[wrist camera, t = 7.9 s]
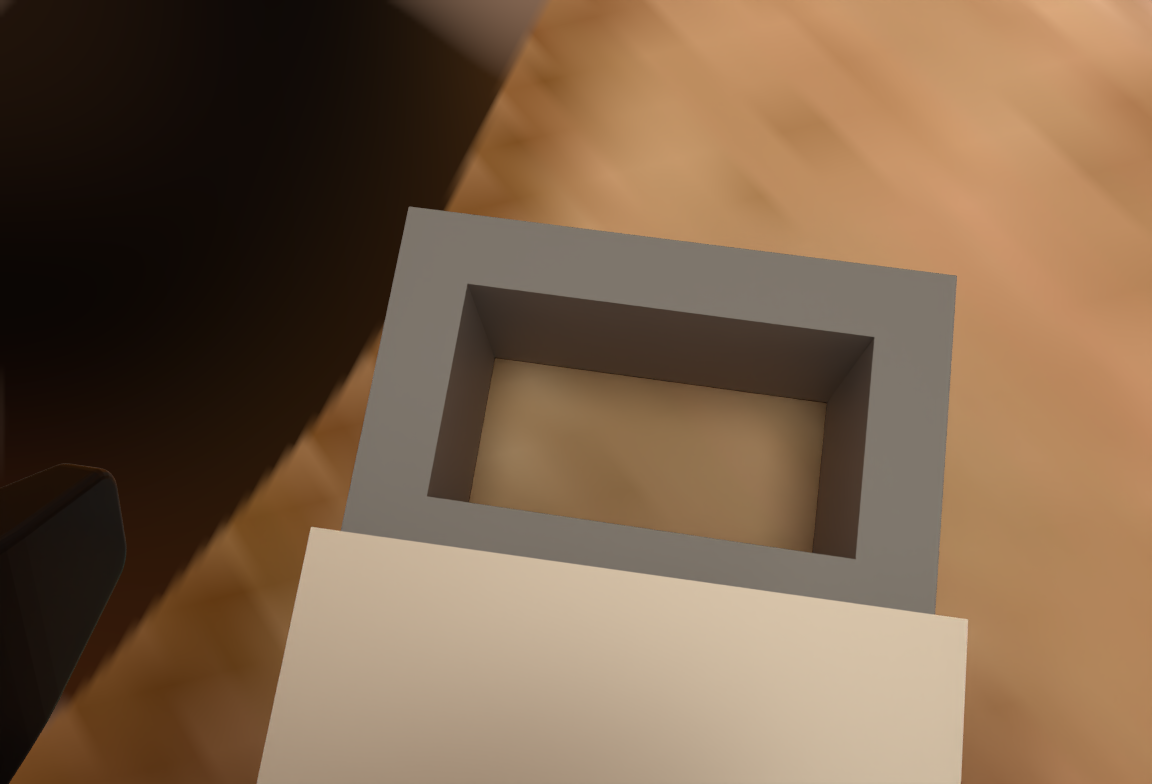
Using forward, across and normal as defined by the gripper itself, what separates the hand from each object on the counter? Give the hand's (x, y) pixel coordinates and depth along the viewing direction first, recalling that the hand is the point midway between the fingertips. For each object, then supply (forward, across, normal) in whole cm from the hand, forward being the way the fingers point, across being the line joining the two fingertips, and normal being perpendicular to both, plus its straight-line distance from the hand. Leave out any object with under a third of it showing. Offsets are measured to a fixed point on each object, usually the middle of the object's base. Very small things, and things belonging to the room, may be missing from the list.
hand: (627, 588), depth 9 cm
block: (+7, 0, +9) cm, 11 cm away
